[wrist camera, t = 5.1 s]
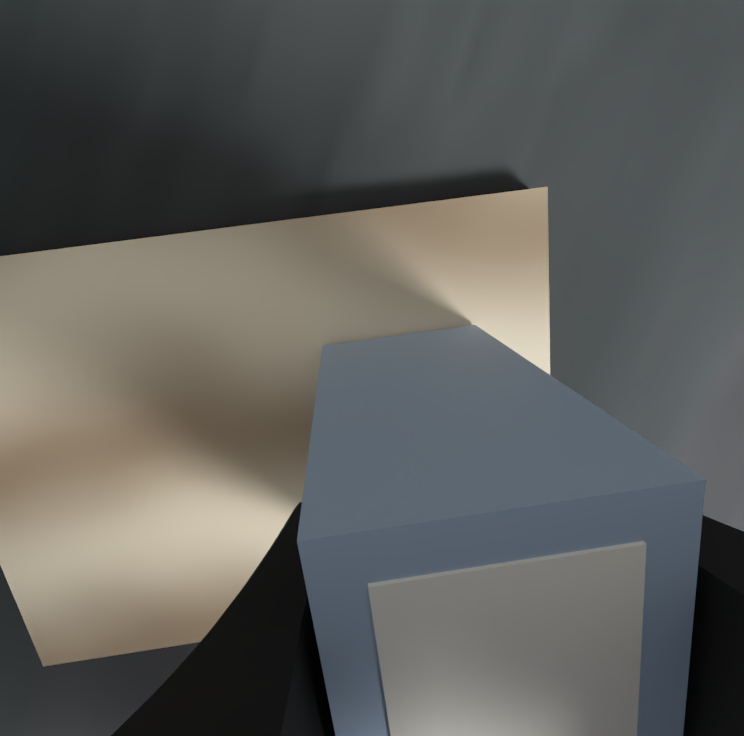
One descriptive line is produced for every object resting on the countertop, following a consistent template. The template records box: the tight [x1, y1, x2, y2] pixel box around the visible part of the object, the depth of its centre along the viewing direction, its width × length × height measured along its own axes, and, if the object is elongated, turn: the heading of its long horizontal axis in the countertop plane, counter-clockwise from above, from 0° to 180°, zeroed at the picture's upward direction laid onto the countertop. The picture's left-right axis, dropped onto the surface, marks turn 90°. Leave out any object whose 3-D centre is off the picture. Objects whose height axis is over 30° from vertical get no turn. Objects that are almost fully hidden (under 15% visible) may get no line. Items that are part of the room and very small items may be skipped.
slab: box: [297, 325, 706, 736], centre depth 9 cm, size 6×4×8 cm, turn 7°
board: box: [0, 187, 550, 666], centre depth 13 cm, size 12×16×1 cm
